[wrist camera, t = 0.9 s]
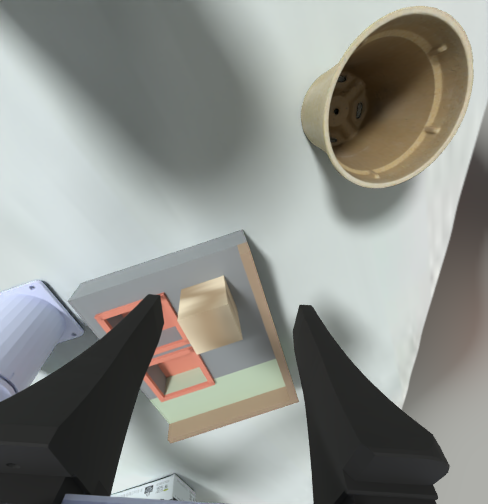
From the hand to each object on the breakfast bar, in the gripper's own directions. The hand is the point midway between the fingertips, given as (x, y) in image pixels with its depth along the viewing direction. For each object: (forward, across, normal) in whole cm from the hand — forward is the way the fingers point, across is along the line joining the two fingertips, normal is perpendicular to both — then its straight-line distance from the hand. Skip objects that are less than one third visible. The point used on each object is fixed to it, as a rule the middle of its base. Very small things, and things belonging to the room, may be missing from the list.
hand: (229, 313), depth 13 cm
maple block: (+10, +2, +9) cm, 14 cm away
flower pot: (+17, -8, -9) cm, 20 cm away
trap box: (+12, +4, +17) cm, 21 cm away
